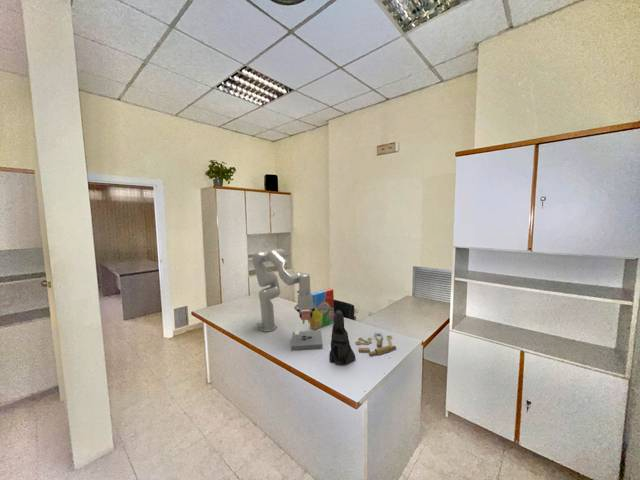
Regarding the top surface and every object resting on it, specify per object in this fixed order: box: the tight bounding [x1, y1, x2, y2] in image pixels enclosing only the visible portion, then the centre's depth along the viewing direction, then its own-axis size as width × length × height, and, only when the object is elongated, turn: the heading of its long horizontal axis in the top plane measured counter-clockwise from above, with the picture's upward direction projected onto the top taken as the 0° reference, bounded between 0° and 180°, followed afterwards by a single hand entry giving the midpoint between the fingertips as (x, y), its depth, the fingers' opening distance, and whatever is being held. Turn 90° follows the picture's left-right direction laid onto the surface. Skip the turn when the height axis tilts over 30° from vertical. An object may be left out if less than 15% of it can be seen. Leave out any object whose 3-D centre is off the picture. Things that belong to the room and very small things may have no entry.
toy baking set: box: [354, 332, 397, 356], centre depth 167 cm, size 33×25×4 cm
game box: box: [309, 287, 335, 331], centre depth 197 cm, size 21×6×27 cm, turn 129°
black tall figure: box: [328, 309, 357, 366], centre depth 149 cm, size 14×14×30 cm
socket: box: [290, 329, 324, 351], centre depth 173 cm, size 20×20×4 cm
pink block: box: [300, 310, 311, 325], centre depth 171 cm, size 6×6×7 cm
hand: (306, 318), depth 171 cm, fingers closed on pink block, 6 cm apart
